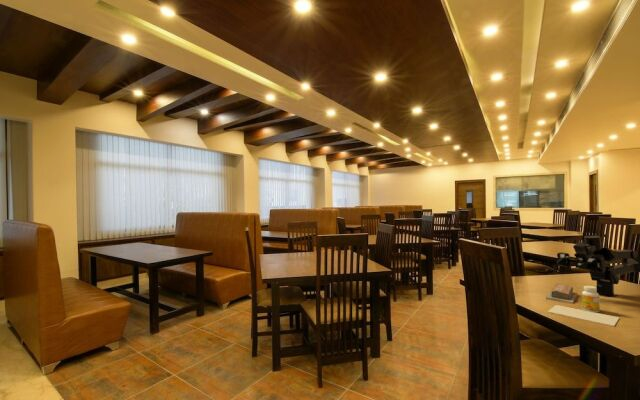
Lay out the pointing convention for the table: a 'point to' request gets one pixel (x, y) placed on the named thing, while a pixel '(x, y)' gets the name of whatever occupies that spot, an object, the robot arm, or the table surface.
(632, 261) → the robot arm
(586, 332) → the table surface
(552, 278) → the table surface
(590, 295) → the supplement bottle
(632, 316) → the table surface
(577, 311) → the rubber mat
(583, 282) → the table surface
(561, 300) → the packaged product
